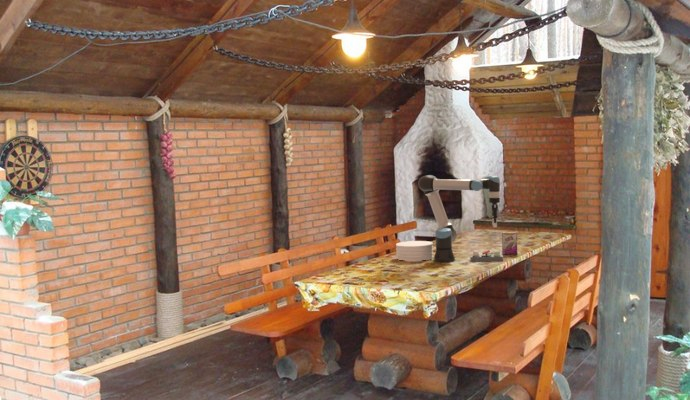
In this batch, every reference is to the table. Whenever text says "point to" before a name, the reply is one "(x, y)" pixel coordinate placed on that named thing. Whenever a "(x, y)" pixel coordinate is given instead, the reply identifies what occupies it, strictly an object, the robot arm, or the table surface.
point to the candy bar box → (509, 242)
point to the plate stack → (414, 250)
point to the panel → (486, 258)
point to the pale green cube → (497, 253)
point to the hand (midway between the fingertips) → (494, 226)
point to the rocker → (486, 252)
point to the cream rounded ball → (475, 253)
